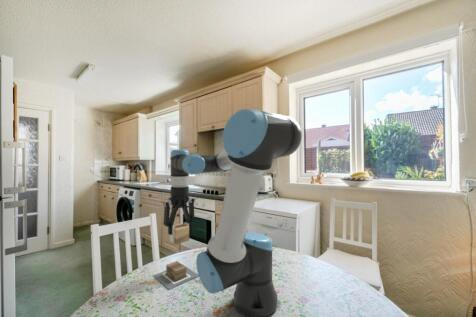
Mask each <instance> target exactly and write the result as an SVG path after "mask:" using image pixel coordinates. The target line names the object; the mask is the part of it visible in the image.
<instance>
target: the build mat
mask: <svg viewBox="0 0 476 317" xmlns="http://www.w3.org/2000/svg"><path fill="white" fill-rule="evenodd" d="M181 264H182V265H184V264H183V263H181ZM184 266H185V267H186V277H185V278H182V279H180V280H178V281H174V280H173V279H172V278H171V277H169V276H168V275H167V274H166V270H164V271H161V272H159V273H156V274H153V275H152V276H153V277H154V279H156V280H157V281H158V282H159V283H160V284H162V286H163V287H164V288H166V289H167V290H168V291H170V290H173V289H175V288H176V287H179V286H182V285H183V284H185V283H189V281H193V280H195V279H197V278H199V275H198V272H197V273H196V272H195V271H193V270H192V269H190V268H189V267H187V266H186V265H184Z"/></svg>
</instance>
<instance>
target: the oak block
mask: <svg viewBox="0 0 476 317" xmlns="http://www.w3.org/2000/svg"><path fill="white" fill-rule="evenodd" d="M173 226H174V227H175V242H174V243H173V244H175V245H178V244H182V243H185V242H188V241H190V230H189V226H187V225H185V224H184V222H182V223H178V224H173Z"/></svg>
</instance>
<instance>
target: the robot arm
mask: <svg viewBox="0 0 476 317" xmlns="http://www.w3.org/2000/svg"><path fill="white" fill-rule="evenodd" d="M302 136H303V134H302V129H301V127H300V124H299V123H298V122H297V121H296V120H295V119H294V118H292V117H291V116H288V115H284V114H279V113H274V112H269V111H266V110H265V111H263V110H261V109H255V108H254V109H253V108H242V109H239V110H237V111H235V113H233V114H232V115H231V116H230V117H229V119H228V120H227V122H226V123H225V125H224V128H223V132H222V141H223V142H224V143H223V144H222V145H223V148H224V151H221V152H220V153H219V152H218V153H217V154H196V153H195V154H192V153H191V154H190V152H189V150H187V149H172V150H171V152H170V185H171V186H170V198H169V200H167V201H163V203H162V204H163V207H164V211H163V226H165V227H167V234H168V235H169V242H170V243H173V244H175V243H174V242H175V227H174V226H173V225H175V220H176V216H177V212H178V210H179V209H180V208H181V209H182V212H183V216H184V219H185V222H183V224H185V225H187V226H189V231H190V230H191V224H192V223H193V222H194V221H195V218H196V217H195V201H196V200H195V198H193V197H189V196H190V195H189V192H190V189H189V188H190V187H189V185H190V183H189V182H190V176H189V175H198V174H207V173H208V174H212V173H228V172H229V174H228V181H227V184H226V189H225V192H224V197H223V202H222V206H221V209H220V213H219V219H218V222H217V225H216V226H217V227H216V230H215V231H216V232H215V235H214V236H212V237H210V239H209V240H208V243H207V247H206V250H203V251H200V252H199V253H198V254H196V255H197V256H196V259H195V260H196V262H195V263H196V264H195V265H196V270H197V274H198V275H199V277H198V278H199V280H200V283H201V284H202V286H203V288H204V289H205V290H206V291H207V292H208V293H210V294H216V293H218V292H224V291H225V290H227V289H228V288H231V287H234V286H235V285H236V286H235V291H234V294H233V305H234V308H236V310H237V312H239V313H240V314H242V315H244V316H247V317H267V316H270V315H272V314H273V313H275V312H276V310H277V308H278V304H279V303H278V301H279V300H278V294H277V292H276V289H275V286H274V282H273V251H274V250H273V246H272V245H273V241H271V240H272V238H271V237H269V236H268V235H265V234H262V233H258V232H248V229H249V225H250V223H251V222H250V221H251V217H252V215H253V211H254V206H255V203H256V200H257V197H258V194H259V190H260V186H261V182H262V180H263V176H264V174H265V173H267V172H269V171H270V170H271V169H272V165H273V162H274V159H278V158H283V157H287V156H288V157H289V156H290V155H292V154H294V153H295V152H296V151H297V150H298V149H299V147H300V145H301V143H302V138H303V137H302ZM170 207H171V208H170ZM170 210H171V211H170ZM270 238H271V239H270Z"/></svg>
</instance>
